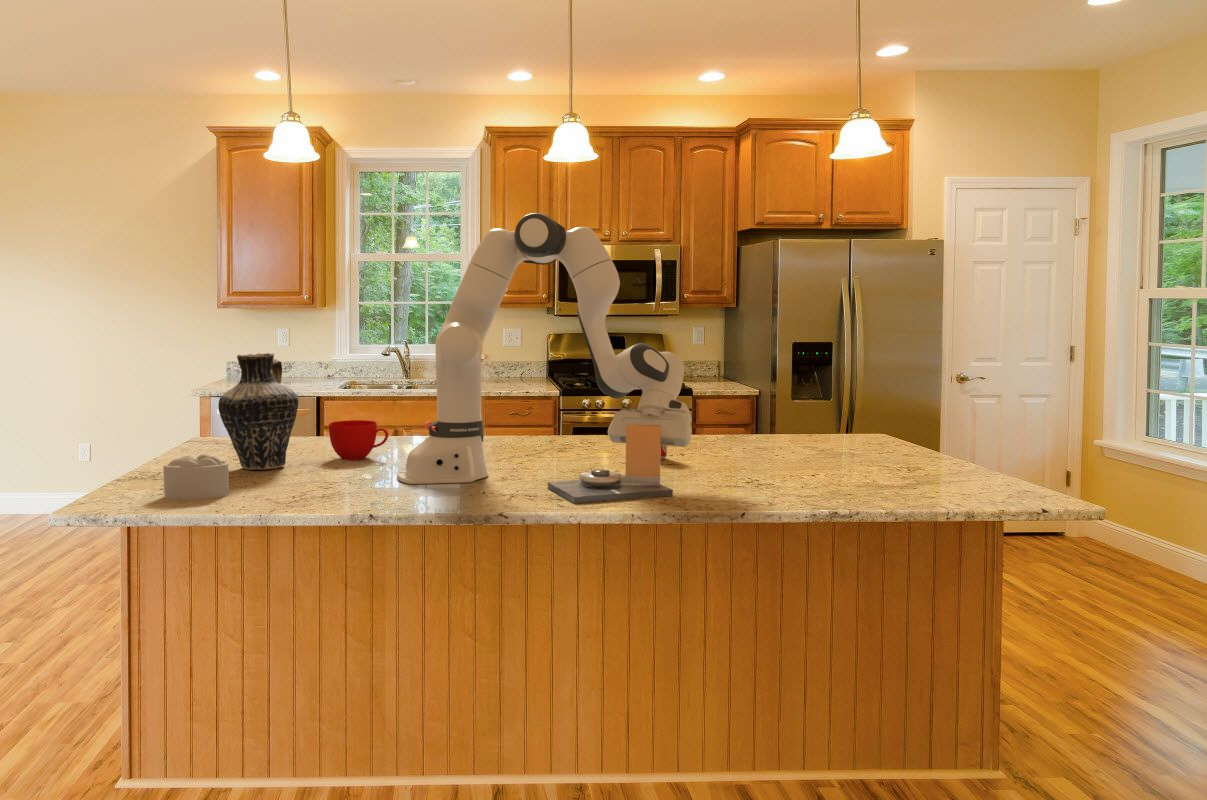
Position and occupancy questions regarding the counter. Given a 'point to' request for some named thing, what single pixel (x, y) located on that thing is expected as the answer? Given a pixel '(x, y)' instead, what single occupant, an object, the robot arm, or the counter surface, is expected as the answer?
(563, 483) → the base plate
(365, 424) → the ceramic cup
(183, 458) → the lumpy-topped squat cylinder
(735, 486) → the counter surface
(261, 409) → the jug
